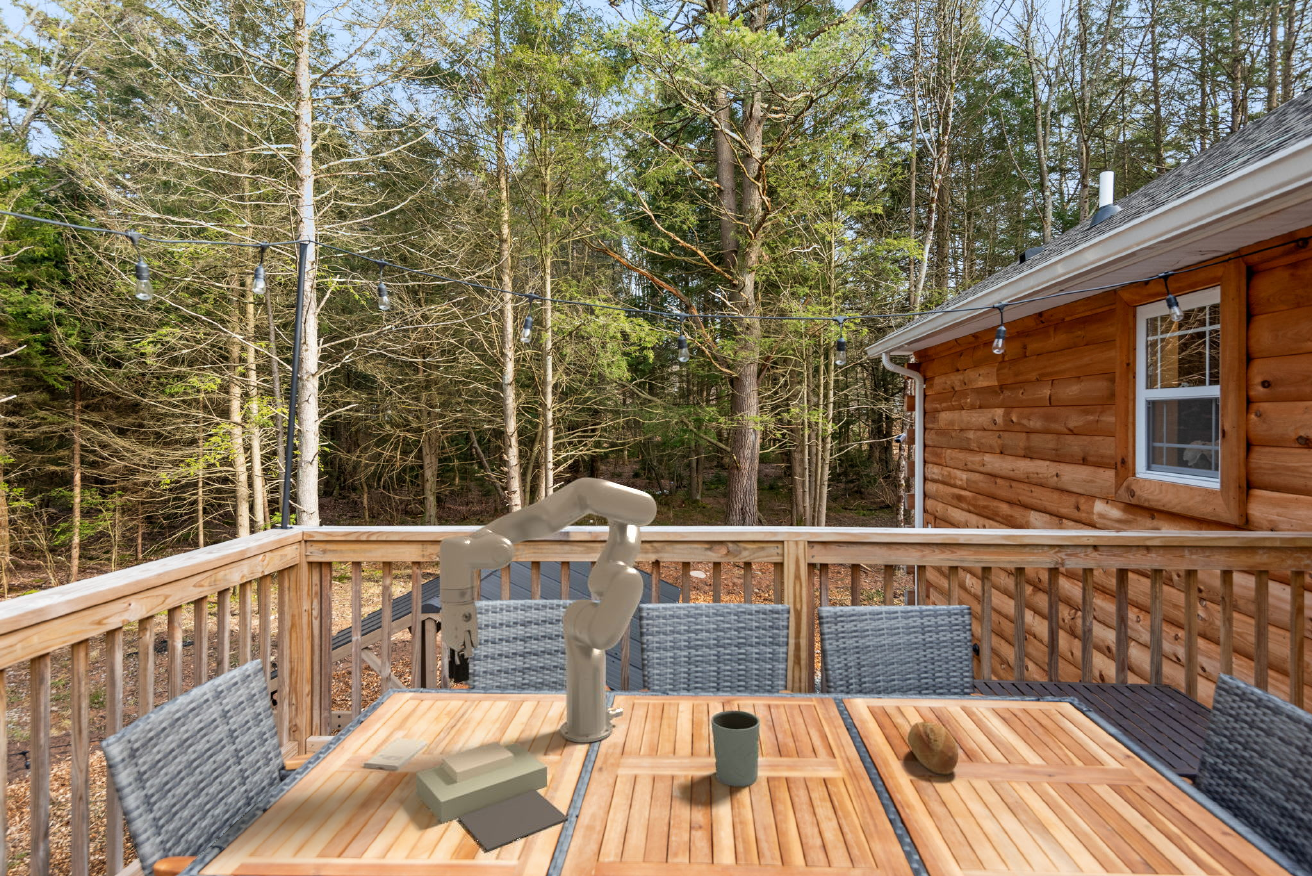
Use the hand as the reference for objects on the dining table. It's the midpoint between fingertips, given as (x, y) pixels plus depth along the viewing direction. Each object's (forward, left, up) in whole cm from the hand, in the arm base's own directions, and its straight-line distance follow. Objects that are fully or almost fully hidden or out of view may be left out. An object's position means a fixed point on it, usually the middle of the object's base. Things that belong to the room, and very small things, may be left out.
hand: (458, 678), depth 150 cm
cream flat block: (0, +10, -15) cm, 18 cm away
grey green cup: (-44, +40, -19) cm, 63 cm away
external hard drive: (+9, -14, -20) cm, 26 cm away
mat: (0, +26, -19) cm, 32 cm away
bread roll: (-82, +62, -20) cm, 105 cm away
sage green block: (0, +12, -19) cm, 23 cm away
